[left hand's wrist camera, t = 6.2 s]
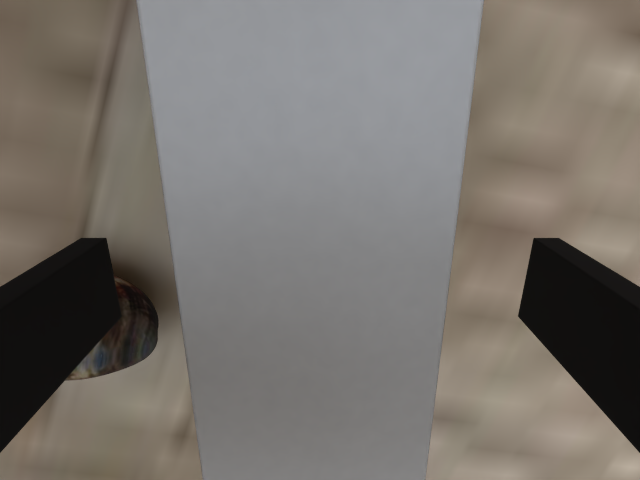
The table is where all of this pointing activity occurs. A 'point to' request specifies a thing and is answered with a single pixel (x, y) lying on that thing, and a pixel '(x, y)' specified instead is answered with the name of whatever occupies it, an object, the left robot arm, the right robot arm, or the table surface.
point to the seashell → (123, 336)
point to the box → (312, 222)
